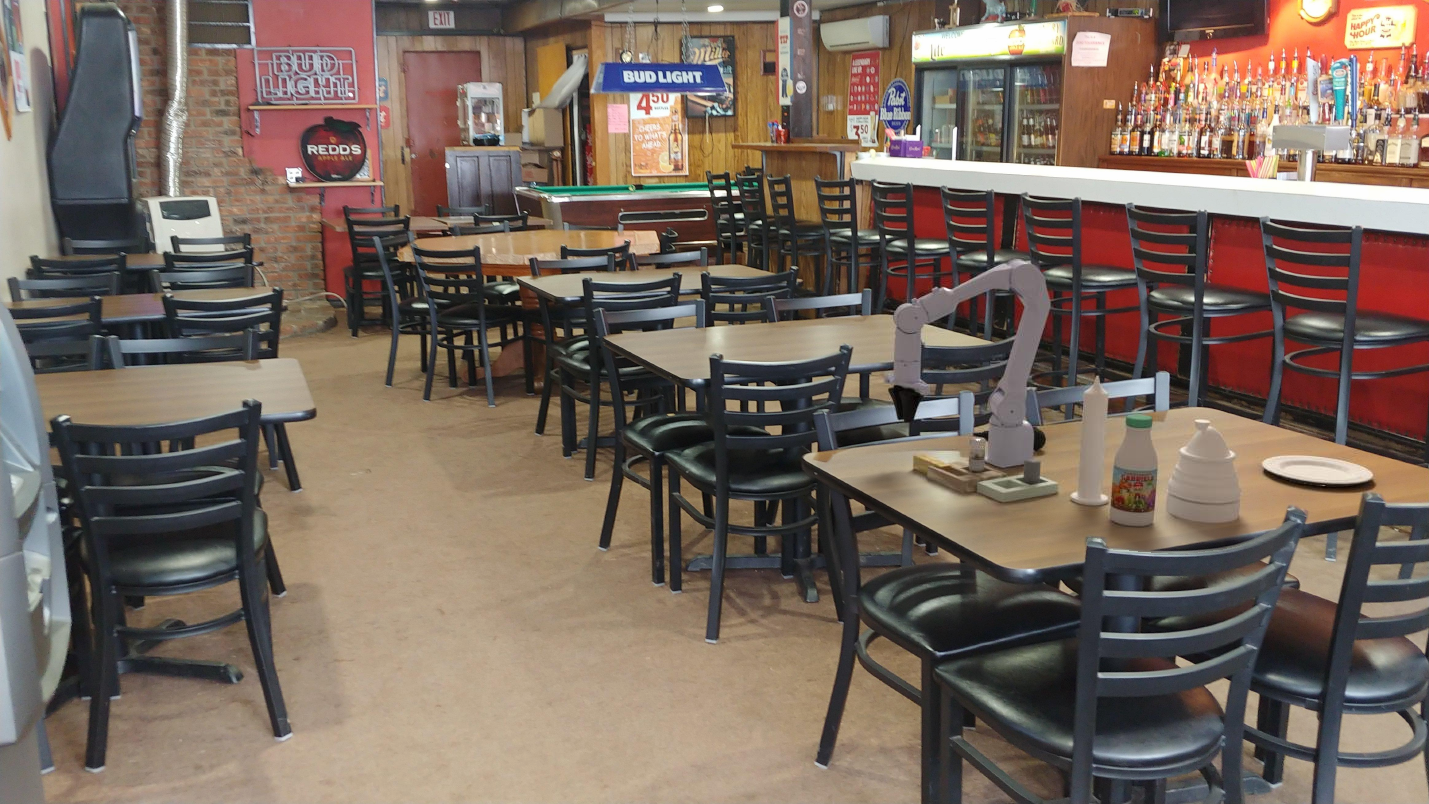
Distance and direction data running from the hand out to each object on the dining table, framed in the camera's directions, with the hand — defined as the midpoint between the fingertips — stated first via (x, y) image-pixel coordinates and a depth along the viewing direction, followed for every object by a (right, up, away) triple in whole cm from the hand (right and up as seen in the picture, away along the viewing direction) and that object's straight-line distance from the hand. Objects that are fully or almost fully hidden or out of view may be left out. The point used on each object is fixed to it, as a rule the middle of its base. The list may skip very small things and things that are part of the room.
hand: (905, 420), depth 250 cm
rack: (+19, -14, -20) cm, 31 cm away
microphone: (+27, -6, +17) cm, 33 cm away
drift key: (+4, -11, -7) cm, 14 cm away
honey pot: (+51, -17, -32) cm, 63 cm away
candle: (+32, -15, -25) cm, 43 cm away
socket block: (+11, -12, -12) cm, 21 cm away
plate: (+84, -12, -10) cm, 86 cm away
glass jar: (+13, -12, -12) cm, 21 cm away
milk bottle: (+36, -18, -37) cm, 55 cm away
